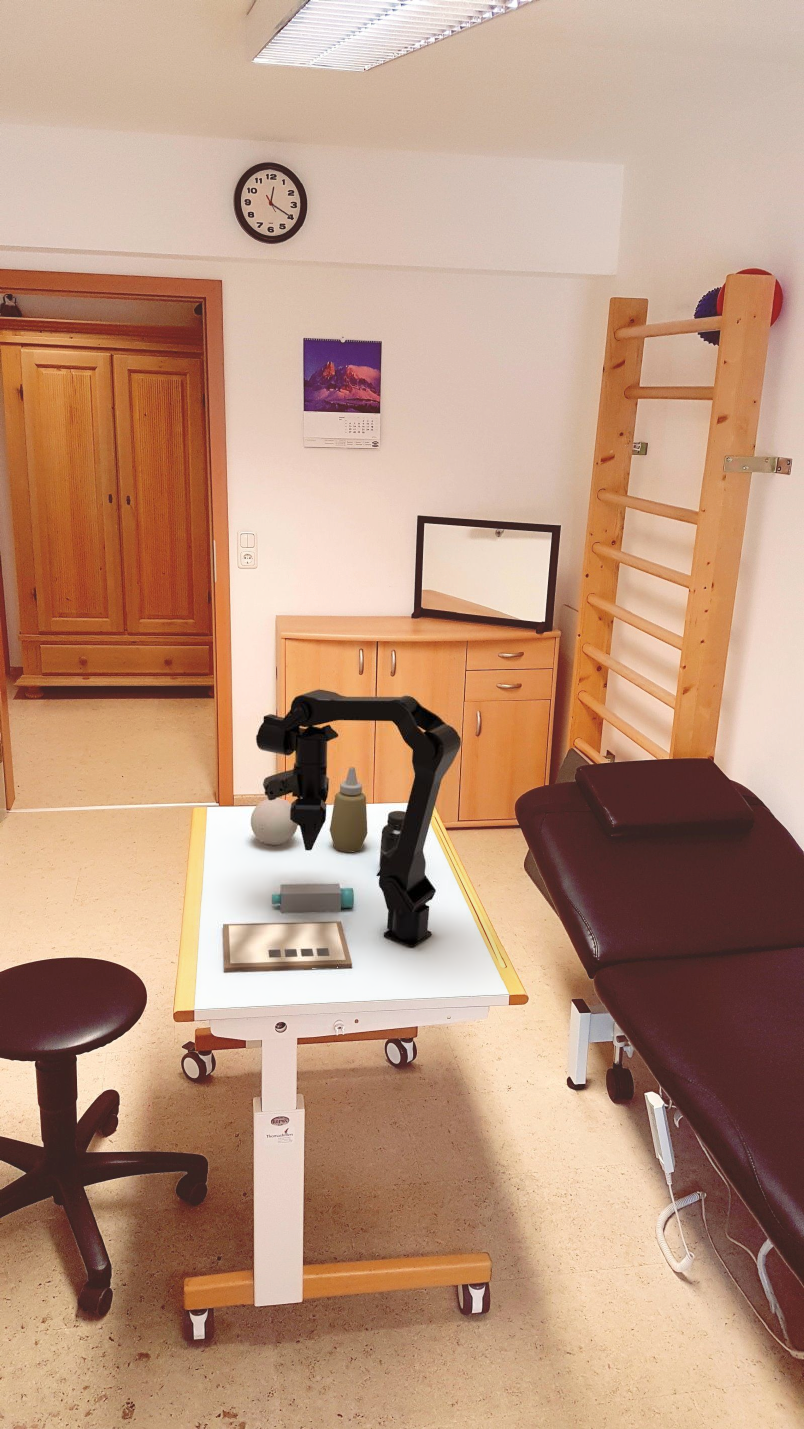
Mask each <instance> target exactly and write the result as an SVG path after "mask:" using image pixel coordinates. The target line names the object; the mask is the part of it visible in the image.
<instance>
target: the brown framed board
mask: <svg viewBox="0 0 804 1429" xmlns="http://www.w3.org/2000/svg"><path fill="white" fill-rule="evenodd" d="M346 938H347V937H346V935H345V931H344V927H343V923H342V921H341V920H340V921H337V920H336V921H334V920H333V921H301V922H298V921H297V922H295V921H294V922H292V921H291V922H261V923H256V922H255V923H251V922H250V923H223V924H222V941H223V942H222V945H223V946H222V947H223V951H222V952H223V972H224V973H233V972H232V971H243V972H266V971H269V972H271V971H270V970H274V971H290V970H289V969H294V970H293V971H296V970H295V969H304V970H313V969H312V968H335V969H345V968H344V967H348V968H347V969H352V968H353V962H352V958H351V954H350V950H349V947H348V943H347V939H346ZM337 967H338V968H337ZM349 967H351V968H349ZM283 969H284V970H283Z"/></svg>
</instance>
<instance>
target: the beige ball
mask: <svg viewBox="0 0 804 1429" xmlns="http://www.w3.org/2000/svg"><path fill="white" fill-rule="evenodd" d="M291 804H292V803H291V802H289V801H288V800H286V799H284V798H281V797H277V798H276V799H275V800H268V798H266V799H264V800H261V801H260V802H259V803H258V804H257V805H256V806H255V807H254V809H253V811H252V813H251V817H250V826H251V831H252V832H253V834H254V836H255V837H256V838H257V839H258V840H259V841H260V842H262V843H265V844H266V845H271V846H278V845H281V844H284V843H286V842H288V841H290V840H291V839H292V837H294V835H295V834H296V832H297V830H298V826H299V825H298V824H296V823H294V822H292V820H290V809H291Z"/></svg>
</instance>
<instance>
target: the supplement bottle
mask: <svg viewBox="0 0 804 1429" xmlns="http://www.w3.org/2000/svg"><path fill="white" fill-rule="evenodd" d="M405 813H406V811H403V810H394V811H390V812H389V813H388V814H387V822H386V823H387V824H385V825H384V826H383V828H382V829H381V837H380V849H379V850H380V851H379V862H378V863H379V866H378V867H380V866H381V859H382V856H383V855H384V854H386V853H387V852H389V851H390V850H392V849H393V848H395V847H396V846H397V844H398V840H399V836H400V832H401V828H402V824H403V820H404V817H405Z"/></svg>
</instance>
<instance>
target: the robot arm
mask: <svg viewBox="0 0 804 1429" xmlns="http://www.w3.org/2000/svg"><path fill="white" fill-rule="evenodd" d="M337 721H352V722H353V721H355V722H356V721H357V722H358V721H359V722H360V721H361V722H362V721H366V722H369V721H370V722H391V723H393V724H394V725H395V726H396V727H397V730H398V731H399V733H400V735H401V737H402V740H403V742H404V743H405V744H406V745H407V746H408V747H409V748H410V749H411V751H412V754H411V765H412V768H413V772H414V778H413V782H412V786H411V789H410V795H409V798H408V800H407V801H408V802H407V805H406V809H405V812H406V813H405V817H404V820H403V824H402V828H401V832H400V836H399V840H398V844H397V846H396V847H395V848H393V849H392V850H390V851H389V852H387V853H386V854H384V855H383V856H382V859H381V866H379V871H378V872H377V873H376V877H379V878H378V888H380V889H381V891H382V894H383V898H384V901H385V906H386V910H387V923H386V925H387V926H386V929H387V930H386V931H385V932H383V937H384V938H387V939H389V940H392V941H395V942H397V943H399V944H402V945H405V946H407V947H408V948H414V947H416V946H417V945H419V944H421V943H423V941H425V940H427V939H428V938H430V937H431V936H432V935H433V932H432V931H430V930H429V929H428V926H429V916H430V906H429V905H427V903H428V902H429V901H431V900H433V898H434V896H435V894H436V892H437V890H436V888H435V887H434V885H433V884H432V883H431V881H430V880H429V878H428V876H427V875H426V874H425V873H426V866H427V864H426V863H427V862H426V858H425V854H424V847H425V843H426V839H427V836H428V831H429V829H430V824H431V822H432V817H433V814H434V811H435V806H436V802H437V800H438V795H439V790H440V787H441V783H442V781H443V780H442V779H443V778H444V777H445V775H446V774H447V772H448V770H450V767H452V764H453V763H454V761H455V759H456V758H457V754H458V752H459V751H460V748H461V744H462V742H461V740H462V739H461V736H460V735H459V733H458V732H457V730H456V729H455V728H454V727H453V726H451V725H449V724H447V723H446V722H445V721H444V720H443V719H442V718H441V717H440V716H439V715H437V714H436V713H434V712H433V711H431V710H429V709H427V708H426V707H424V706H423V705H422V704H421V703H420V702H419V701H418V700H417V699H416V698H415V697H413V696H411V695H402V696H344V695H342V694H339V693H338V692H335V691H331V690H330V691H329V690H325V689H320V688H319V689H315V690H311V691H309V692H306V693H303V694H299V695H296V696H295V697H294V698H293V700H292V701H291V704H290V709H289V711H288V712H287V713H286V714H285V716H284V717H283V716H282V717H281V716H278V715H275V714H272V713H270V714H267V715H264V716H263V722H262V723H261V725H260V726H259V728H258V731H257V734H256V736H255V740H256V745H257V747H258V749H259V750H261V751H265V752H269V753H273V754H278V755H283V756H291V755H292V754H293V753H295V754H294V756H295V757H294V759H295V760H294V763H293V768H292V769H289V770H284V771H281V772H279V773H276V774H271V775H268V776H266V777H265V778H264V779H263V782H262V785H263V789H264V795H265V796H266V797H267V799H268V800H275V799H276V798H281V797H283V796H287V795H290V794H291V797H295V798H296V799H295V800H294V801H292V802H291V803H290V804H291V809H290V820H292V822H294V823H296V824H298V826H299V828H300V832H301V836H302V837H301V838H302V841H303V846H304V850H305V851H312V850H313V847H314V846H315V844H316V841H317V838H318V837H319V835H320V832H321V831H322V829H323V826H324V825H325V822H326V820H327V803H326V802H327V799H328V795H329V791H330V790H329V788H330V786H329V785H330V784H329V783H330V778H329V777H328V772H327V770H328V742H330V741H333V740H335V739H337V738H338V737H339V734H338V733H337V731H336V730H334V729H333V728H332V726H331V724H327V723H331V722H337ZM324 724H326V725H324ZM319 725H324V726H322V727H320V726H319ZM422 730H424V731H422Z"/></svg>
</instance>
